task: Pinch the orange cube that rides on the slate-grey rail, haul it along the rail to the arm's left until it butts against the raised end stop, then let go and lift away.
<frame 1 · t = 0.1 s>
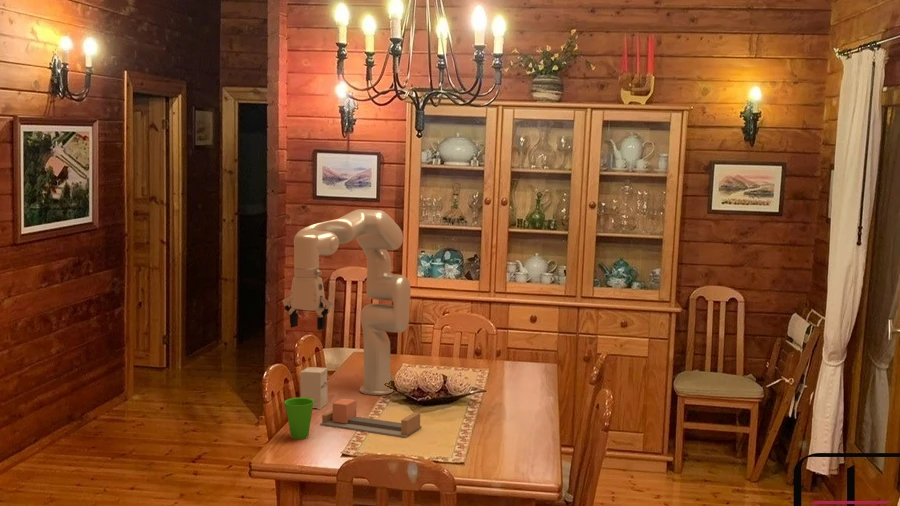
hand: (307, 328, 283), 31 cm above the table, tool pointing down, fingers open, 9 cm apart
cup: (299, 437, 275), on the table
orange cube: (344, 410, 289), point 4 cm above the table, slide at 0.0 cm
supplement box: (314, 406, 308), on the table
track: (370, 426, 286), on the table
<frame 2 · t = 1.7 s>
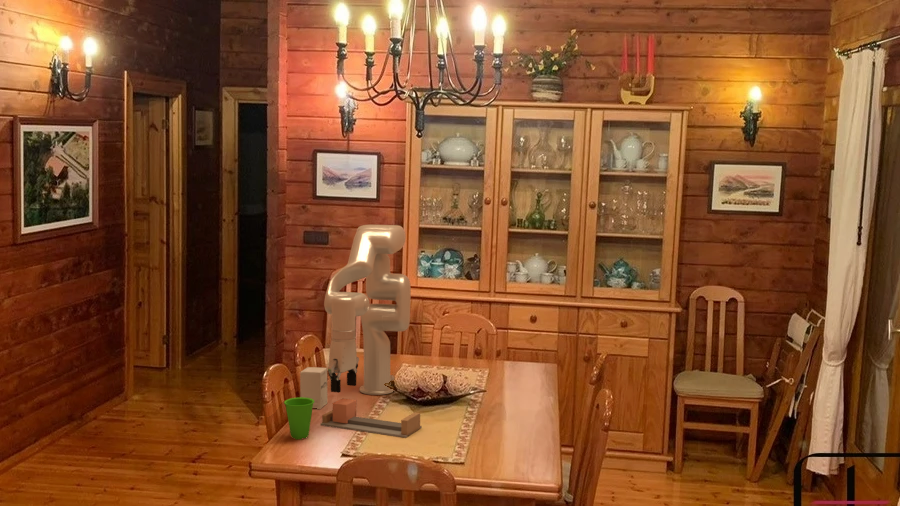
hand: (343, 388, 288), 11 cm above the table, tool pointing down, fingers open, 9 cm apart
nothing on the table moved.
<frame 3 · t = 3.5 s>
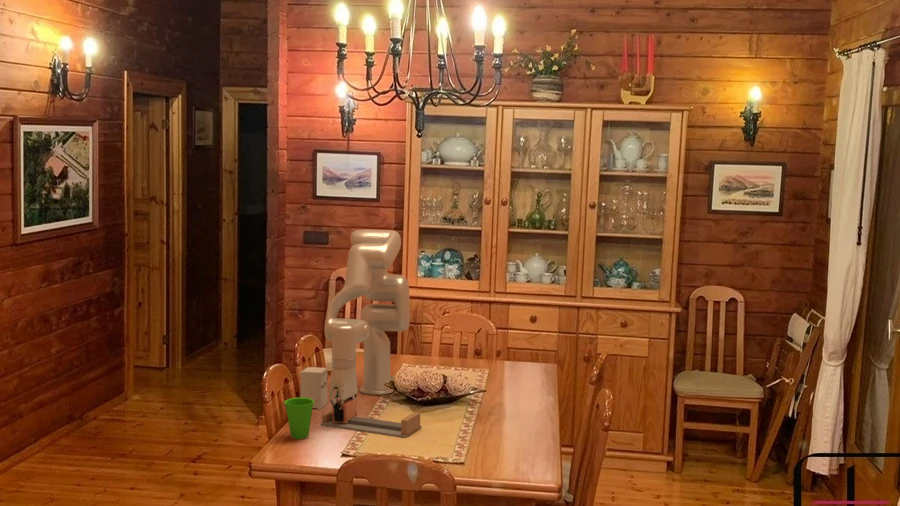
hand: (344, 417, 289), 2 cm above the table, tool pointing down, fingers closed on orange cube, 6 cm apart
orange cube: (344, 410, 289), point 4 cm above the table, slide at 0.0 cm, touching gripper
everything else where it was.
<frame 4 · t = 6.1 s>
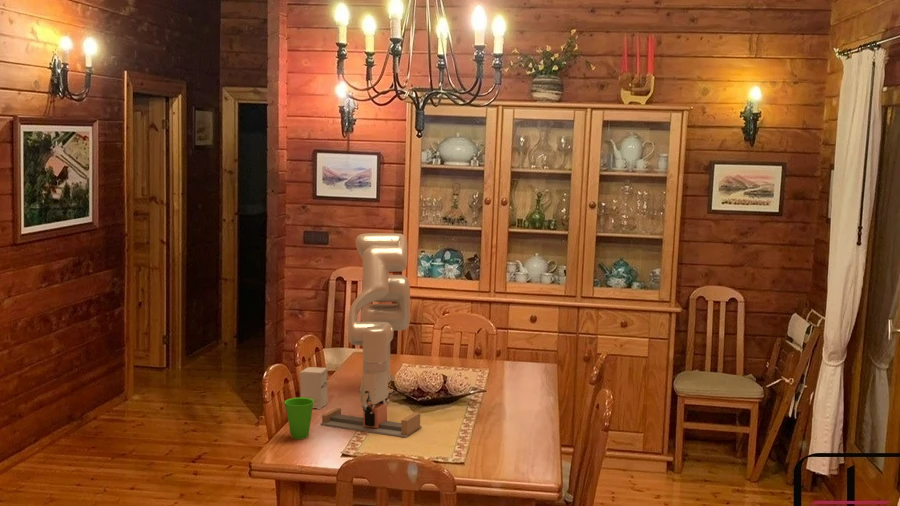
hand: (375, 422, 285), 2 cm above the table, tool pointing down, fingers closed on orange cube, 6 cm apart
orange cube: (375, 415, 285), point 4 cm above the table, slide at 11.1 cm, touching gripper
everything else where it was.
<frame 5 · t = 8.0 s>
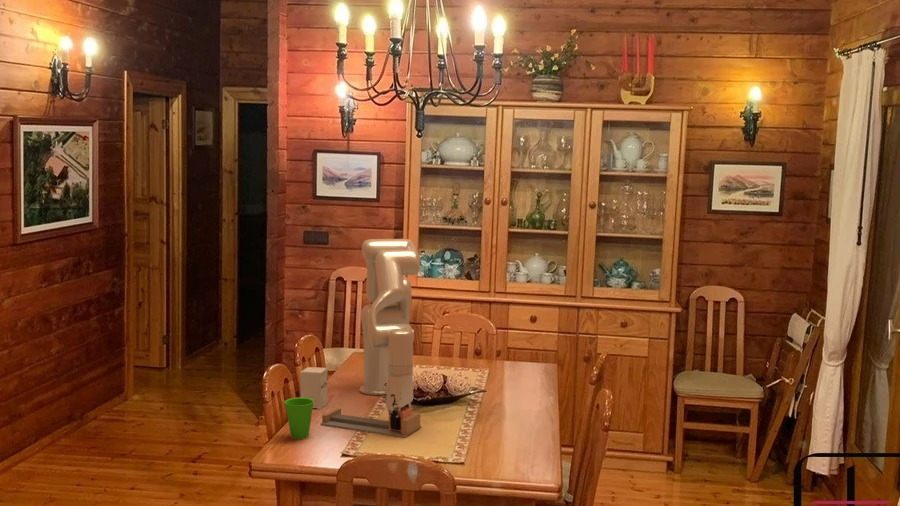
hand: (400, 425, 281), 2 cm above the table, tool pointing down, fingers closed on orange cube, 6 cm apart
orange cube: (400, 418, 281), point 4 cm above the table, slide at 20.0 cm, touching gripper, track
everything else where it was.
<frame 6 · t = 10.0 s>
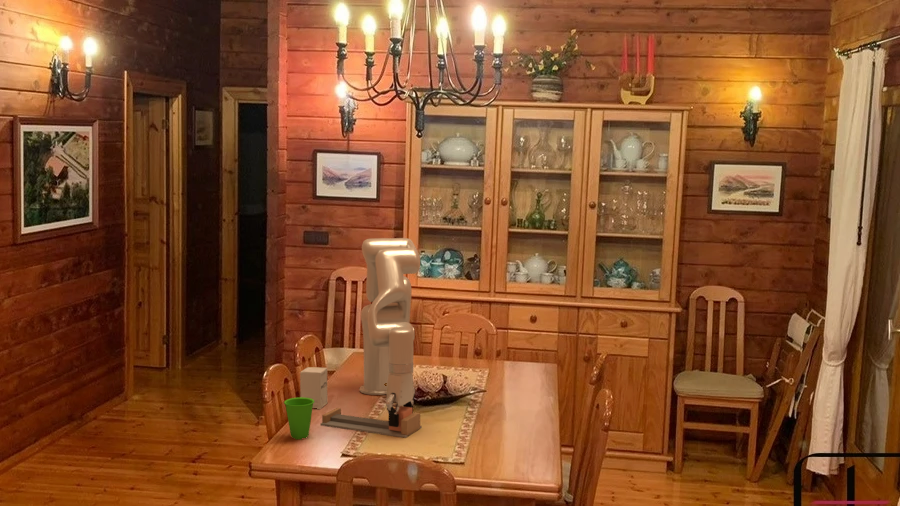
hand: (401, 421, 281), 3 cm above the table, tool pointing down, fingers open, 9 cm apart
orange cube: (400, 418, 281), point 4 cm above the table, slide at 20.0 cm, touching track
everything else where it was.
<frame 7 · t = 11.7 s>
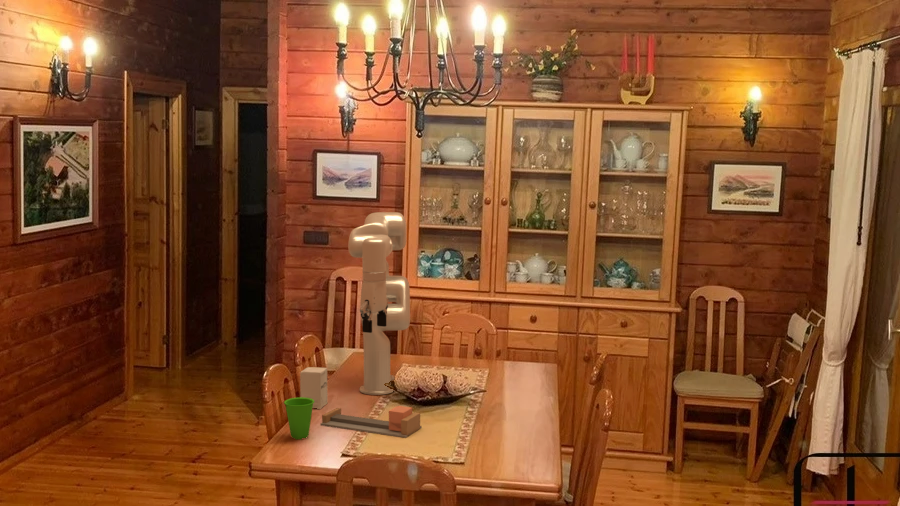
hand: (374, 329, 293), 29 cm above the table, tool pointing down, fingers open, 9 cm apart
nothing on the table moved.
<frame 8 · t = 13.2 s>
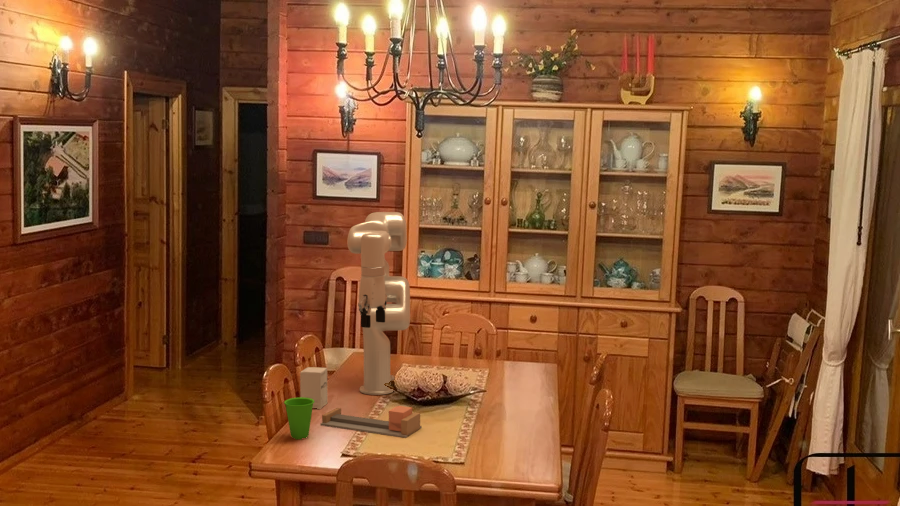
hand: (373, 324, 293), 30 cm above the table, tool pointing down, fingers open, 9 cm apart
nothing on the table moved.
at the end: orange cube slide at 20.0 cm; the gripper is holding nothing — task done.
